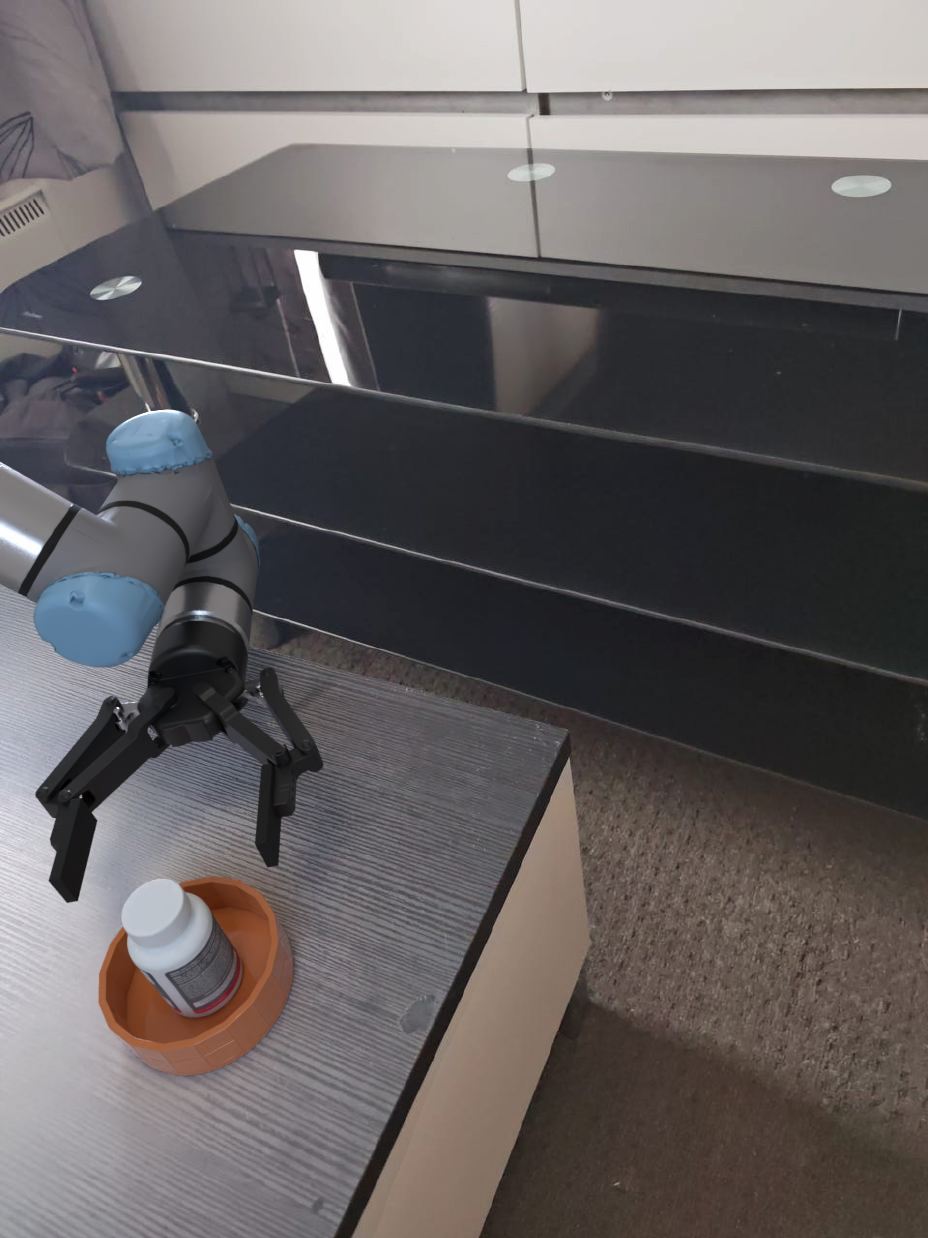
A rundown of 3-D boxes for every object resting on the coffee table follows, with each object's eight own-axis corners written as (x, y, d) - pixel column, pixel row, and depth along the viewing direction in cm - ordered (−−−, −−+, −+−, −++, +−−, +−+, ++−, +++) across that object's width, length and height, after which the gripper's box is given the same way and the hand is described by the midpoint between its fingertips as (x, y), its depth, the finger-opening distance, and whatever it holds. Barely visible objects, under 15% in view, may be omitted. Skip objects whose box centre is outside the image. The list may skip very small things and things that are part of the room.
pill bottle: (251, 942, 64) (203, 865, 58) (236, 1018, 60) (183, 944, 54) (178, 947, 65) (122, 871, 59) (158, 1022, 61) (96, 950, 55)
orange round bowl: (86, 1039, 62) (59, 1012, 59) (192, 886, 69) (173, 856, 67) (229, 1106, 57) (207, 1081, 54) (326, 934, 65) (311, 904, 62)
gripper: (360, 655, 78) (365, 871, 62) (74, 707, 78) (7, 935, 62) (339, 588, 73) (338, 805, 57) (33, 645, 73) (-51, 875, 57)
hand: (164, 874), depth 60 cm, fingers open, 13 cm apart
